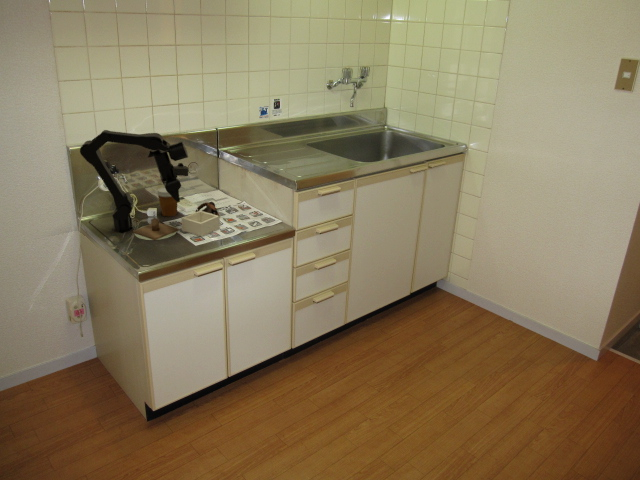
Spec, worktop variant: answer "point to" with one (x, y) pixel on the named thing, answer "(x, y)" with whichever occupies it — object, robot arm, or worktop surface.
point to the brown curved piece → (208, 208)
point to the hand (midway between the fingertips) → (177, 199)
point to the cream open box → (200, 223)
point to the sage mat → (157, 239)
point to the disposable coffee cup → (167, 202)
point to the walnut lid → (155, 230)
